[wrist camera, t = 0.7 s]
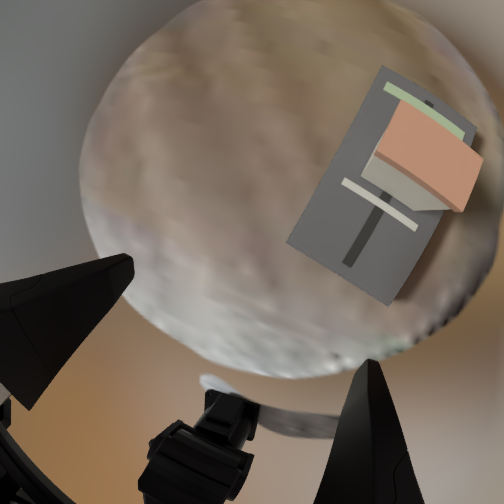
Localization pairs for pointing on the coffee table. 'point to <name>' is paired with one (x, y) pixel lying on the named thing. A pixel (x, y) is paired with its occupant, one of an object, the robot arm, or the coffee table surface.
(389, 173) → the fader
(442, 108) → the plate
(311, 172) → the coffee table surface
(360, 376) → the robot arm
